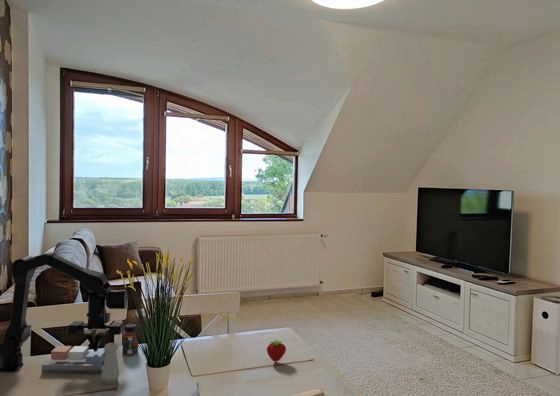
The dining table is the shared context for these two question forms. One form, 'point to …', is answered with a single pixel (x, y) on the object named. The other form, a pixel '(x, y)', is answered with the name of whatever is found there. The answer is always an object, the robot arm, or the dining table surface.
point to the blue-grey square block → (95, 357)
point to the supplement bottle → (129, 341)
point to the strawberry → (276, 350)
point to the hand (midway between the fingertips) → (95, 351)
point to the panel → (72, 367)
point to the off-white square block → (78, 353)
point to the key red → (60, 352)
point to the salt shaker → (110, 364)
